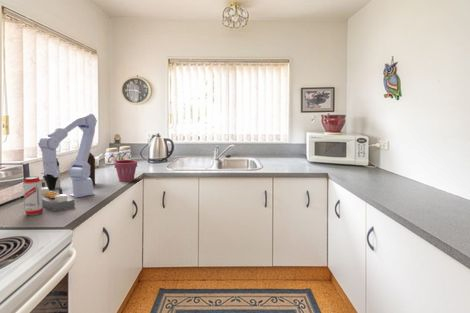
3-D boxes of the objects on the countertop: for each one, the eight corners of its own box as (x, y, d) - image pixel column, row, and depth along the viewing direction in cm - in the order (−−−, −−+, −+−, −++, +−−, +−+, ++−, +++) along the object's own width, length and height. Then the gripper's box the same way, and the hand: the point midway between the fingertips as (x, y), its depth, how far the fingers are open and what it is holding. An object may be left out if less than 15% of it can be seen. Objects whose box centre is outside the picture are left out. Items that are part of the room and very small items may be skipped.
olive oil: (100, 183, 190) (98, 144, 186) (86, 187, 180) (84, 145, 176) (87, 182, 193) (85, 143, 190) (73, 185, 183) (70, 144, 180)
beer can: (32, 211, 135) (29, 176, 133) (46, 211, 135) (43, 176, 133) (22, 215, 129) (19, 179, 127) (36, 216, 129) (33, 179, 126)
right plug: (64, 199, 142) (63, 186, 141) (67, 200, 140) (66, 188, 139) (54, 200, 139) (54, 188, 138) (58, 202, 137) (57, 189, 136)
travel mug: (55, 189, 173) (53, 158, 171) (41, 189, 173) (39, 158, 171) (63, 186, 181) (61, 156, 178) (50, 186, 181) (48, 156, 179)
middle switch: (55, 195, 148) (54, 192, 148) (57, 195, 146) (56, 192, 146) (47, 196, 145) (46, 194, 145) (48, 196, 143) (48, 194, 143)
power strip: (51, 197, 158) (51, 190, 157) (74, 207, 142) (74, 199, 141) (32, 200, 151) (31, 194, 150) (53, 211, 135) (53, 204, 134)
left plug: (46, 191, 154) (46, 180, 154) (49, 193, 152) (49, 181, 151) (38, 193, 151) (37, 181, 150) (40, 194, 149) (40, 183, 148)
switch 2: (58, 196, 146) (57, 194, 146) (60, 196, 144) (59, 194, 144) (50, 198, 143) (49, 195, 143) (52, 198, 141) (51, 195, 141)
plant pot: (130, 183, 192) (130, 163, 191) (110, 182, 195) (109, 162, 193) (141, 178, 206) (141, 160, 205) (122, 177, 209) (121, 159, 207)
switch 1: (52, 194, 150) (51, 191, 150) (54, 193, 148) (53, 191, 148) (44, 195, 147) (43, 193, 147) (46, 195, 146) (45, 192, 146)
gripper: (34, 161, 145) (36, 189, 146) (46, 164, 136) (48, 194, 138) (50, 159, 150) (52, 186, 152) (63, 163, 141) (65, 191, 143)
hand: (51, 189), depth 145 cm, fingers closed
